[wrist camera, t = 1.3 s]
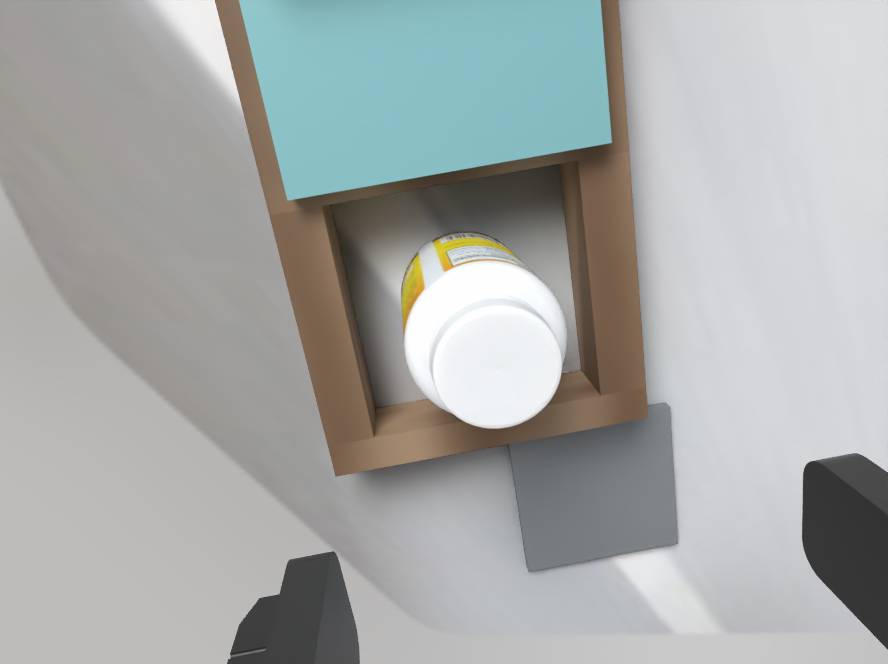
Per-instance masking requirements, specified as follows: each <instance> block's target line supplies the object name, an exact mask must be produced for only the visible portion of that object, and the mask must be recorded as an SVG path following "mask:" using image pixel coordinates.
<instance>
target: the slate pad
mask: <svg viewBox="0 0 888 664" xmlns="http://www.w3.org/2000/svg"><path fill="white" fill-rule="evenodd" d="M647 410H648V418H646V419H641V420H635V421H630V422H625V423H619V424H614V425H609V426H603V427H598V428H593V429H587V430H582V431H576V432H571V433H566V434H560V435H555V436H550V437H544V438H539V439H534V440H528V441H523V442H518V443H512V444H508V445H509V452H510V458H511V465H512V472H513V478H514V485H515V491H516V498H517V505H518V511H519V518H520V524H521V531H522V538H523V544H524V551H525V557H526V564H527V568H528V571H529V572H531V571H537V570H542V569H547V568H552V567H558V566H563V565H568V564H573V563H578V562H584V561H589V560H594V559H599V558H605V557H610V556H615V555H620V554H626V553H631V552H636V551H641V550H647V549H652V548H657V547H662V546H667V545H673V544H678V536H677V520H676V503H675V486H674V469H673V452H672V435H671V418H670V406H669V405H668V404H667V403H660V404H655V405H649V406H647Z"/></svg>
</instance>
